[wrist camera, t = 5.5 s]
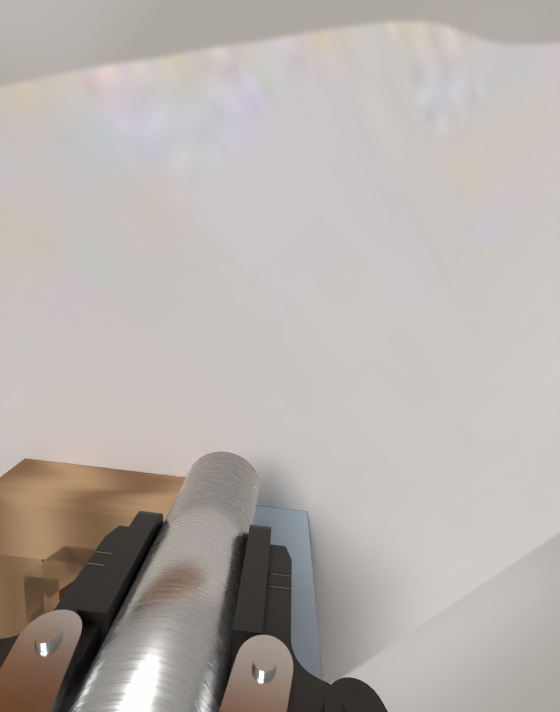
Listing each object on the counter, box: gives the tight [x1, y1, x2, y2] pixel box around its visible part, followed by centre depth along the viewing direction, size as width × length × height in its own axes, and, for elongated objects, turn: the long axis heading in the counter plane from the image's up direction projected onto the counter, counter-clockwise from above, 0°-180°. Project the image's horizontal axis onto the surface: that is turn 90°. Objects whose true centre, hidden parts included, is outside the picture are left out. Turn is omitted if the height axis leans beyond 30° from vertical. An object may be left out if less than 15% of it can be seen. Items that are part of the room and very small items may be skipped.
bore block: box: [0, 459, 186, 639], centre depth 23 cm, size 13×13×4 cm
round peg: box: [68, 452, 259, 712], centre depth 10 cm, size 3×3×10 cm
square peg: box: [253, 506, 323, 680], centre depth 20 cm, size 4×4×10 cm
